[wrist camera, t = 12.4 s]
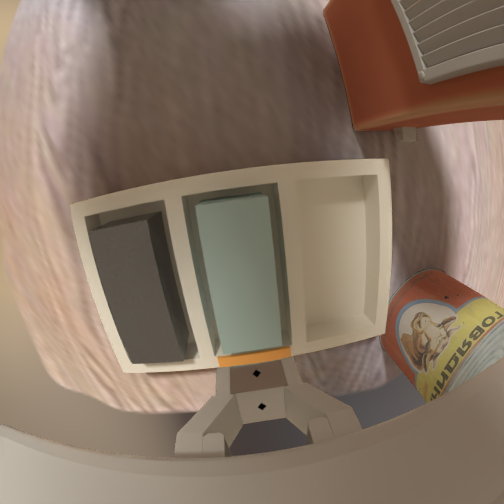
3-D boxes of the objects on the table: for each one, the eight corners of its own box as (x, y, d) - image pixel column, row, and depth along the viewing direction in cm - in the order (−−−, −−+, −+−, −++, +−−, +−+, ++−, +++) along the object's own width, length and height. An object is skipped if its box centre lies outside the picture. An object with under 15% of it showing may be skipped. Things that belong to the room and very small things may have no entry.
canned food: (412, 253, 24) (499, 303, 12) (464, 284, 26) (531, 327, 14) (360, 348, 26) (414, 427, 15) (421, 360, 28) (471, 418, 17)
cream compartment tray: (86, 199, 20) (67, 204, 17) (370, 159, 21) (390, 158, 18) (132, 355, 24) (123, 376, 21) (371, 320, 25) (386, 336, 22)
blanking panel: (201, 200, 20) (195, 206, 16) (260, 192, 21) (267, 196, 17) (223, 326, 23) (223, 354, 20) (274, 319, 24) (282, 345, 20)
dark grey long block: (110, 221, 20) (88, 231, 16) (161, 211, 20) (147, 219, 16) (143, 337, 23) (132, 363, 19) (189, 333, 23) (183, 361, 20)
